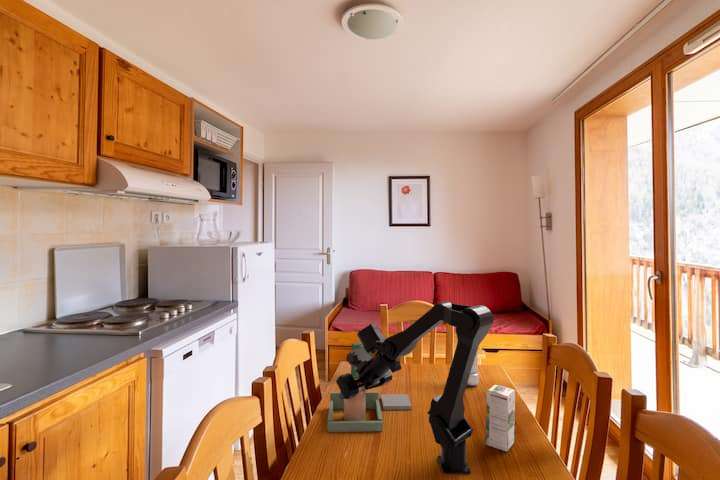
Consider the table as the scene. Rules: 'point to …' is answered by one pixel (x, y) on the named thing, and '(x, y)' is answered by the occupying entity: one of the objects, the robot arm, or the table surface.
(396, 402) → the slate tile
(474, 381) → the plastic bottle
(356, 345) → the coffee box
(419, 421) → the table surface
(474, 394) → the table surface
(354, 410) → the pink tall rounded piece
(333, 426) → the frame
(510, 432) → the syrup box
